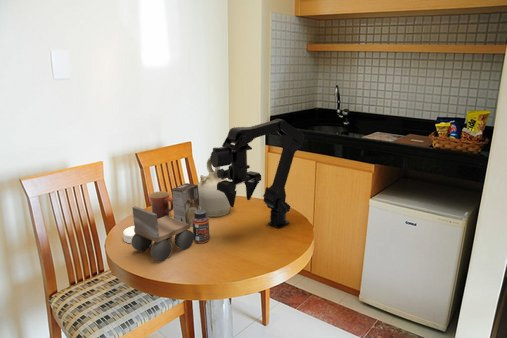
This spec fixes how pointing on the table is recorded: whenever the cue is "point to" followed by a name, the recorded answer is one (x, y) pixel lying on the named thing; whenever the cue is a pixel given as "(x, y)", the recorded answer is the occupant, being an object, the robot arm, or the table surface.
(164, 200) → the mug
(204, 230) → the supplement bottle
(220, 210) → the jug
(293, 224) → the table surface
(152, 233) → the trolley
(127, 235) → the coaster
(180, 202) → the coffee box
